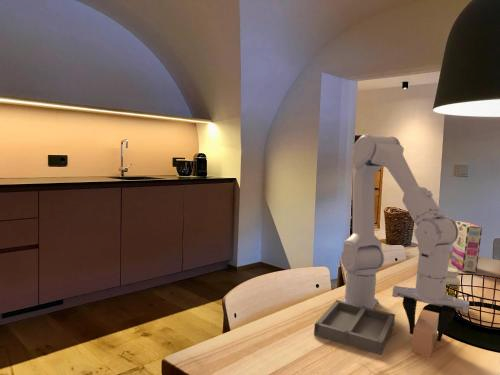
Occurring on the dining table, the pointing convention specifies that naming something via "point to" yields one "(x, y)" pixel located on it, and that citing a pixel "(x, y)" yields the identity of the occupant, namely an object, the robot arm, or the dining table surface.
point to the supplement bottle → (452, 281)
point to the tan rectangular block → (425, 333)
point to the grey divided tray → (356, 326)
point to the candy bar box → (466, 247)
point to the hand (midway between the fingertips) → (425, 335)
